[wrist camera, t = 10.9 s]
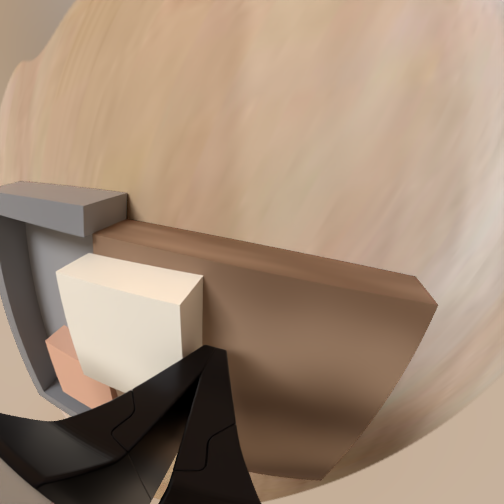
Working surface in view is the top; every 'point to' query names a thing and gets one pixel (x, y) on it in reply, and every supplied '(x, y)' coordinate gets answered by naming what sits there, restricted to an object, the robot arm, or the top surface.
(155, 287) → the cream tile
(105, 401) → the terracotta tile
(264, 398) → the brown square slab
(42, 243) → the box
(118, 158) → the top surface
